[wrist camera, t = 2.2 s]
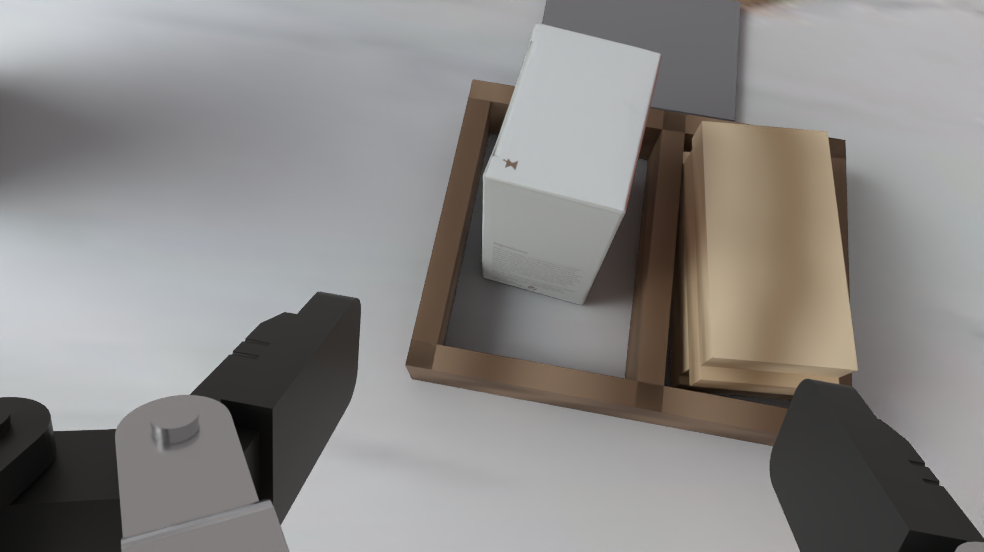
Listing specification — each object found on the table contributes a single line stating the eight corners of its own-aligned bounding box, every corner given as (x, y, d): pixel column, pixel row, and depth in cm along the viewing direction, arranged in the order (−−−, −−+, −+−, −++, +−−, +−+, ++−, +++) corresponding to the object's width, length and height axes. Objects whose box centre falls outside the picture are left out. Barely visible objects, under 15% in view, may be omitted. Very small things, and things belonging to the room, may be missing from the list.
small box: (582, 308, 33) (626, 218, 23) (479, 279, 33) (479, 178, 23) (615, 179, 36) (667, 49, 26) (519, 154, 36) (535, 17, 26)
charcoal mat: (528, 93, 37) (529, 86, 37) (550, -20, 41) (552, -28, 40) (730, 126, 37) (734, 120, 36) (736, 9, 40) (740, 1, 40)
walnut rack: (412, 379, 31) (405, 365, 28) (473, 112, 37) (472, 79, 34) (818, 454, 30) (853, 447, 27) (816, 169, 36) (845, 140, 33)
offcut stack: (670, 398, 31) (712, 371, 26) (666, 180, 36) (701, 117, 30) (791, 408, 31) (859, 384, 26) (772, 189, 36) (826, 127, 30)
